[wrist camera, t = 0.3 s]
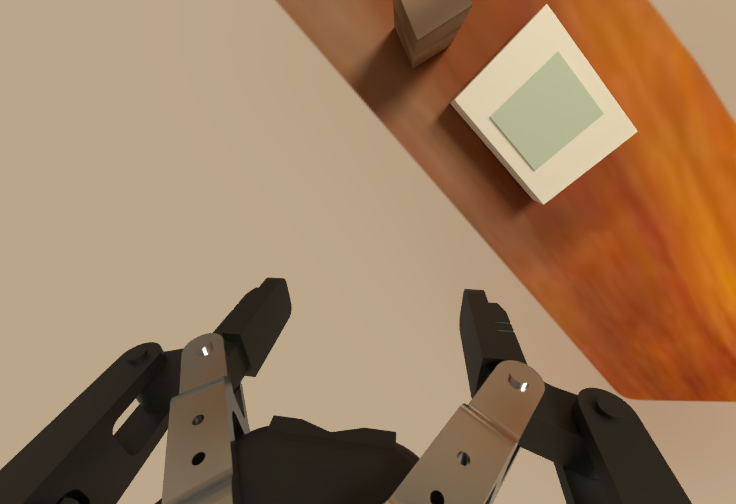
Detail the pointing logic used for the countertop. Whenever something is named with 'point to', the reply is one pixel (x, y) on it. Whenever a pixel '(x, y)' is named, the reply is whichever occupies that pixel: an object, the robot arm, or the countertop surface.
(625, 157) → the countertop surface
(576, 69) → the plinth
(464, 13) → the walnut block
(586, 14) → the countertop surface
